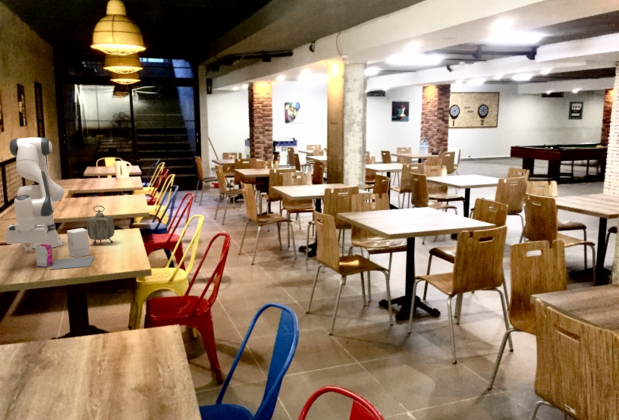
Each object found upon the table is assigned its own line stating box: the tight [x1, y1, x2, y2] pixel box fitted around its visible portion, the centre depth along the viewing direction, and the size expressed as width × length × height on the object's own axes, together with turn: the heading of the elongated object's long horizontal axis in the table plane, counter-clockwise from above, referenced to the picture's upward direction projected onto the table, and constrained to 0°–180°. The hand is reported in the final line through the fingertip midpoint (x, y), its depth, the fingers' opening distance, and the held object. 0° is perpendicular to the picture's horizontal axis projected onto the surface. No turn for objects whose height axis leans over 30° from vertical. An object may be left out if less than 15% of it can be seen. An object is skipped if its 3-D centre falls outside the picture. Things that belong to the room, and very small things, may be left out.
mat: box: [49, 255, 95, 271], centre depth 285 cm, size 20×20×1 cm
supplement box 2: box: [66, 227, 91, 258], centre depth 301 cm, size 9×9×15 cm
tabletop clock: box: [86, 205, 115, 246], centre depth 325 cm, size 14×9×25 cm, turn 92°
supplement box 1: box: [35, 244, 54, 268], centre depth 281 cm, size 6×6×12 cm
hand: (28, 250), depth 278 cm, fingers closed
